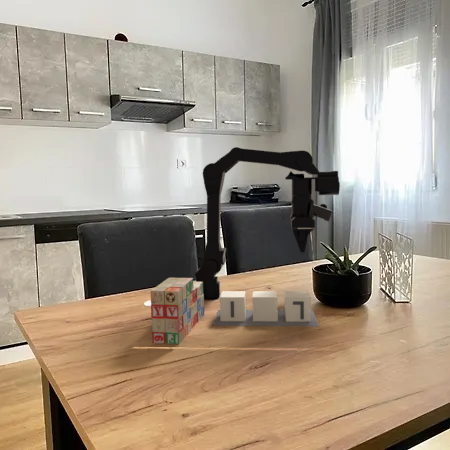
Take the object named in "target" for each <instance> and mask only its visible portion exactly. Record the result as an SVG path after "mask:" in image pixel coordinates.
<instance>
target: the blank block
mask: <svg viewBox="0 0 450 450" xmlns="http://www.w3.org/2000/svg"><path fill="white" fill-rule="evenodd" d="M277 292H278V291H277V290H261V291H260V290H258V291H257V290H256V291H255V290H253V292H252V310H253V321H278V310H279V309H278V307H279V306H278V293H277Z"/></svg>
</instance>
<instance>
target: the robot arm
mask: <svg viewBox="0 0 450 450" xmlns="http://www.w3.org/2000/svg"><path fill="white" fill-rule="evenodd" d="M313 159H314V158H313V156H312V155H311V153H310V152H309V151H306V150H293V151H292V150H291V151H283V152H282V151H281V152H280V151H268V150H261V149H260V150H259V149H250V148H241V147H239V146H238V147H237V146H236V147H235V146H234V147H233V148H230V151H229V152H227V153H226V154H224V155H223V156H222V157H221V158H219V159H218V160H217V161H216V162H212V163H208V164H207V165H205V166H204V168H203V169H202V177H203V178H202V179H203V184H204V189H205V191H206V243H205V248H204V252H203V257H202V263H201V266H200V267H199V268H198V270H197V271H196V272H194V276H195V282H203V294H204V301H217V300H219V299H218V298H220V296H221V282H220V281H219V276H216V275H218V274H219V273H220V272H221V270H222V268H223V266H224V265H225V263H226V262H227V259H226V251H227V247H222V244H221V206H222V205H221V195H222V191H223V187H224V184H225V183H224V182H225V177H226V174H227V173H228V172H229V171H230V170H231V169H232V168H233V167H234V166H236V165H237V164H238V163H239V162H243V163H253V164H262V165H272V166H279V167H283V168H286V169H289V170H290V171H289V173H288V174H287V175H286V176H285V177H284V179H285V180H291V200H290V203H291V214H290V216H289V218H290V227H291V230H292V233H293V236H294V239H295V241H296V243H297V246H298V248H299V251H300V253H305V252H306V248H307V242H308V238H309V235H310V234H311V233H312V232H313V231H314V230H315V228H316V220H315V219H314V217H317V218H320V219H322V220H324V221H326V222H330V220H331V216H332V215H333V210H331V209H329V208H328V205H327V204H325V203H322V202H321V203H320V205H317V204H315V202H314V201H315V200H313V192H315V193H316V192H317V195H318V196H338V195H339V194H340V191H341V190H340V188H341V185H340V184H341V183H340V177H339V171H338V170H332V171H319V169H318V168H317V167H316V166H315V164H314V160H313ZM291 170H293V171H296V172H299V173H294V172H293V171H291ZM300 172H301V173H300ZM303 172H304V173H303ZM305 173H306V174H308V175H309V176H310V177H308V176H307V177H305ZM311 176H314V177H311Z"/></svg>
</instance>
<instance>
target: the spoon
mask: <svg viewBox="0 0 450 450" xmlns="http://www.w3.org/2000/svg"><path fill="white" fill-rule="evenodd" d="M143 306H144V307H150V308H151V299H149V300H146V301H145V302H144V303H143Z"/></svg>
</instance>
